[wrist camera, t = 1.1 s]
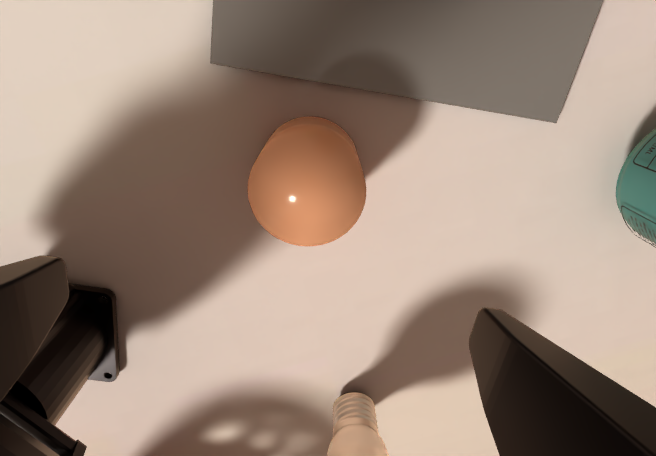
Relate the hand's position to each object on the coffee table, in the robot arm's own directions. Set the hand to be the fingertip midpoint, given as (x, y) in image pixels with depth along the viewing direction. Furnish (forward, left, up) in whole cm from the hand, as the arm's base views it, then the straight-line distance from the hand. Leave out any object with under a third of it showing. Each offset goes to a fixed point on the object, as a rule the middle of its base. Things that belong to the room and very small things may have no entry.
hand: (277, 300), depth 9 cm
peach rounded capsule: (0, 0, -13) cm, 13 cm away
